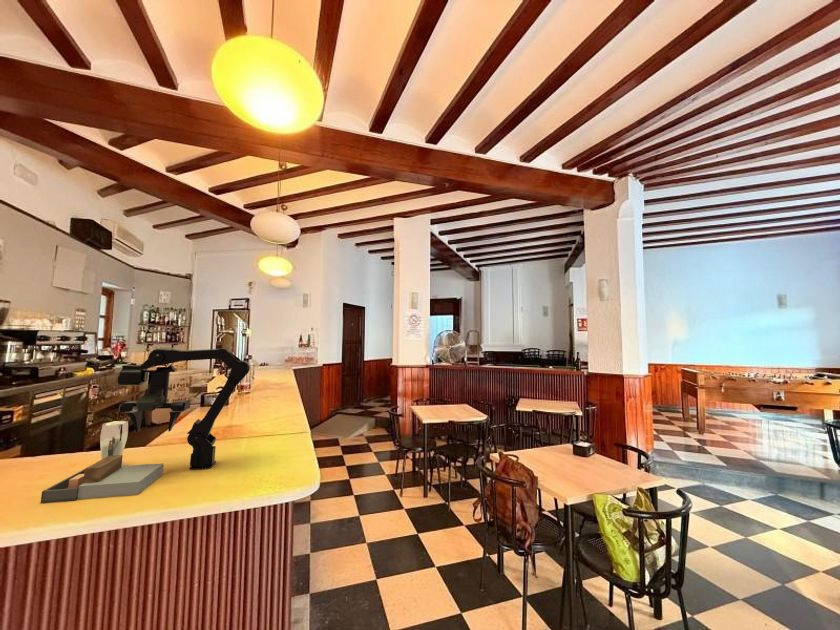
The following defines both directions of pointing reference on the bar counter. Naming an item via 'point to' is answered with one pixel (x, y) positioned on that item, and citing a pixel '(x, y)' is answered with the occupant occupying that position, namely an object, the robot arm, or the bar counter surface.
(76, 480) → the tile
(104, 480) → the board
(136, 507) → the bar counter surface
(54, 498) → the tray
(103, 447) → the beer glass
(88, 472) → the brown wooden plank
